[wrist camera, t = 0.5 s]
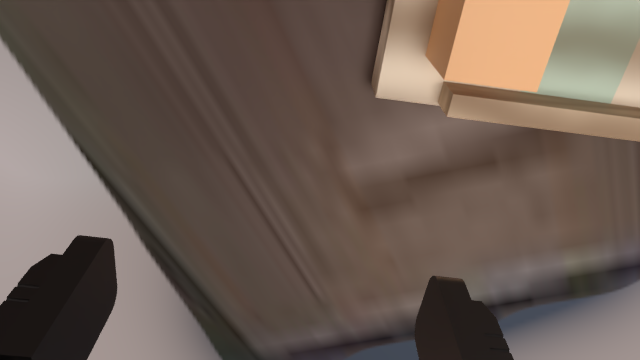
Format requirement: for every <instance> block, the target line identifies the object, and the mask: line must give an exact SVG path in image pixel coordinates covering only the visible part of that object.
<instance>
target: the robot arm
mask: <svg viewBox="0 0 640 360" xmlns="http://www.w3.org/2000/svg"><path fill="white" fill-rule="evenodd" d="M115 268H116V267H115V256H114V246H113V241H112V240H111V239H108V238H99V237H90V236H81V235H80V236H77V237H76V238H75V239H74V240H73V241H72V243H71V244H70V245H69V247H68V248H67V249H66V251H65V252H64V254H63V255H58V254H50V255H49V256H47V257H46V258H44V259H43V260H41V261H39V262H38V263H36V264H35V265H33V266H32V267H31V268H30V269H29V270H28V272H27V273H26V274H25V275H24V276H23V278H22V279H21V280H20V282H19V283H18V286H17V287H15V288H14V289H13V290H12V291H11V293H10V294H9V295H8V296H7V300H6V301H4V302H3V303H2V304H1V305H0V360H87V358H88V356H89V354H90V353H91V351H92V349H93V347H94V345H95V343H96V341H97V339H98V337H99V335H100V333H101V331H102V329H103V327H104V325H105V323H106V321H107V319H108V317H109V315H110V314H111V311H112V309H113V306H114V304H115V300H116V294H117V279H116V269H115ZM415 342H416V347H417V352H418V356H419V360H514V359H513V357H512V354H511V353H509V348H508V345H507V343H506V340H505V339H503V333H502V331H501V329H500V326H499V324H498V321H497V319H496V317H495V316H494V315H493V314H492V313H491V312H490V310H489V309H488V308H487V307H486V306H485V305H484V304H483V303H482V301H473V300H471V298H470V295H469V293H468V290H467V287H466V285H465V282H464V281H463V280H462V279H458V278H449V277H440V276H432V277H431V278H430V280H429V282H428V285H427V288H426V291H425V294H424V297H423V300H422V303H421V306H420V309H419V312H418V315H417V319H416V324H415Z"/></svg>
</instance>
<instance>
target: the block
mask: <svg viewBox="0 0 640 360" xmlns="http://www.w3.org/2000/svg"><path fill="white" fill-rule="evenodd" d="M569 2H570V0H439V1H438V5H437V9H436V13H435V18H434V22H433V26H432V30H431V34H430V38H429V43H428V47H427V51H426V55H425V56H426V57H427V59H428V60H429V61H430V63H431V64H432V65H433V66H434V68H435V69H436V70H437V72H438V73H439V74H440V75H441V77H442V78H443V79H444V80H448V81H455V82H462V83H470V84H477V85H485V86H492V87H500V88H507V89H515V90H522V91H530V92H537V90H538V88H539V85H540V82H541V79H542V77H543V74H544V71H545V68H546V66H547V63H548V60H549V57H550V55H551V52H552V49H553V46H554V44H555V41H556V38H557V35H558V33H559V30H560V27H561V24H562V22H563V19H564V16H565V13H566V11H567V8H568V5H569Z"/></svg>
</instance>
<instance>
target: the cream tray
mask: <svg viewBox="0 0 640 360" xmlns="http://www.w3.org/2000/svg"><path fill="white" fill-rule="evenodd" d="M438 1H439V0H387V3H386V8H385V14H384V19H383V24H382V29H381V35H380V40H379V45H378V50H377V56H376V61H375V66H374V71H373V77H372V82H371V84H372V87H373V91H374V94H375V97H376V98H383V99H391V100H399V101H406V102H414V103H422V104H429V105H437V106H440V107H441V108H442V110H443V111H444V113H445V114H446V116H447V117H454V118H461V119H469V120H477V121H485V122H492V123H500V124H508V125H516V126H523V127H531V128H539V129H546V130H554V131H562V132H570V133H577V134H585V135H593V136H601V137H608V138H616V139H624V140H632V141H639V142H640V0H570V2H569V5H568V8H567V11H566V13H565V16H564V19H563V22H562V24H561V27H560V30H559V33H558V35H557V38H556V41H555V44H554V46H553V49H552V52H551V55H550V57H549V60H548V63H547V66H546V68H545V71H544V74H543V77H542V79H541V82H540V85H539V88H538V90H537V92H530V91H522V90H515V89H507V88H500V87H492V86H485V85H477V84H470V83H462V82H455V81H448V80H444V79H443V78H442V77H441V75H440V74H439V73H438V72H437V70H436V69H435V68H434V66H433V65H432V64H431V63H430V61H429V60H428V59H427V57H426V56H425V55H426V51H427V47H428V43H429V38H430V34H431V30H432V26H433V22H434V18H435V13H436V9H437V5H438Z"/></svg>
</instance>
